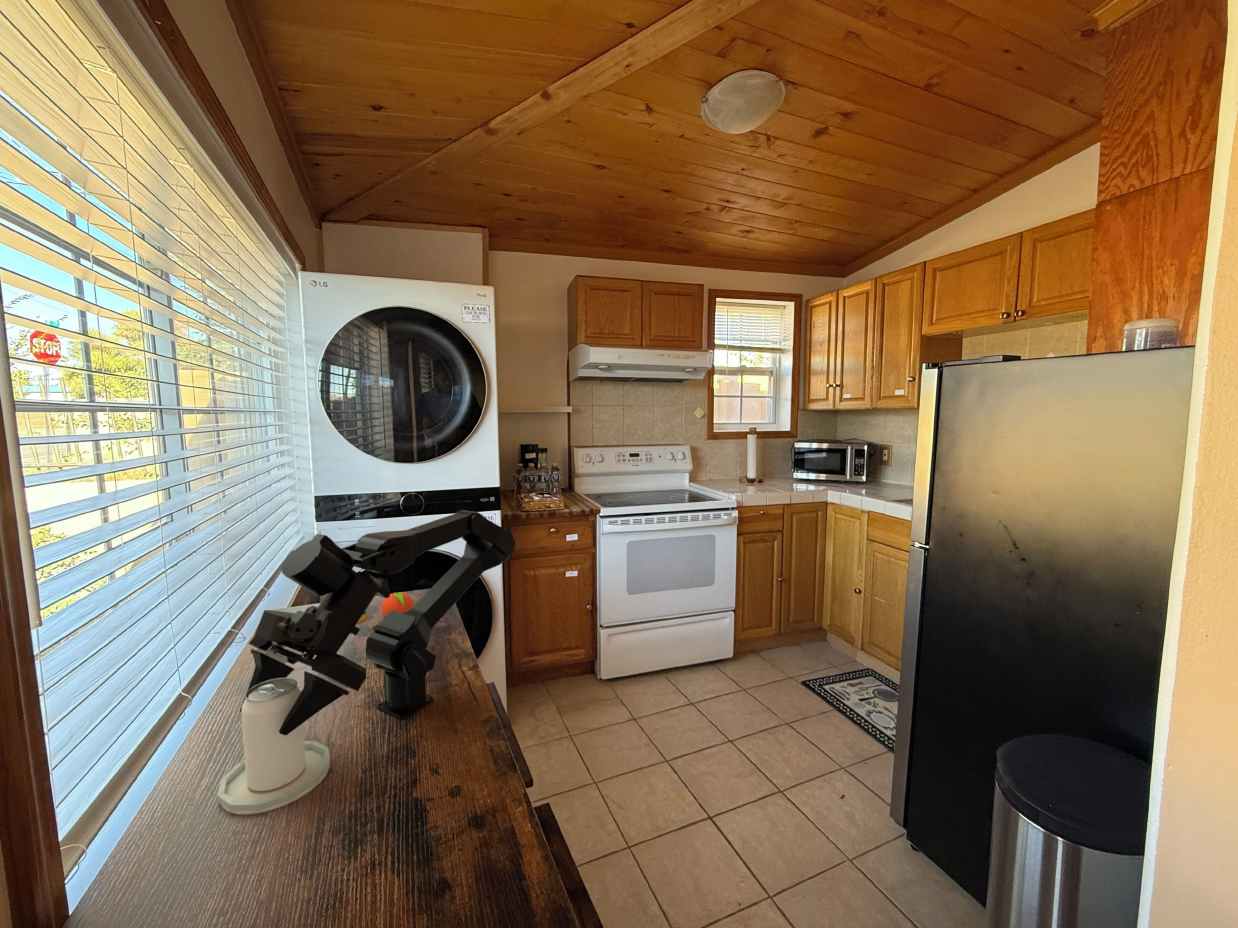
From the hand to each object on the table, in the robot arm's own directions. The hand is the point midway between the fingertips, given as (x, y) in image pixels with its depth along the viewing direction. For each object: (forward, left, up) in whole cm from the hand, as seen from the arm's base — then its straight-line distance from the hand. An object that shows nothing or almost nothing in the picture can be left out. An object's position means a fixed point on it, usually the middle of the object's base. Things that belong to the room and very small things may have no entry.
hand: (261, 723), depth 65 cm
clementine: (+30, -43, -9) cm, 54 cm away
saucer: (0, -1, -9) cm, 9 cm away
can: (0, -1, -8) cm, 8 cm away
